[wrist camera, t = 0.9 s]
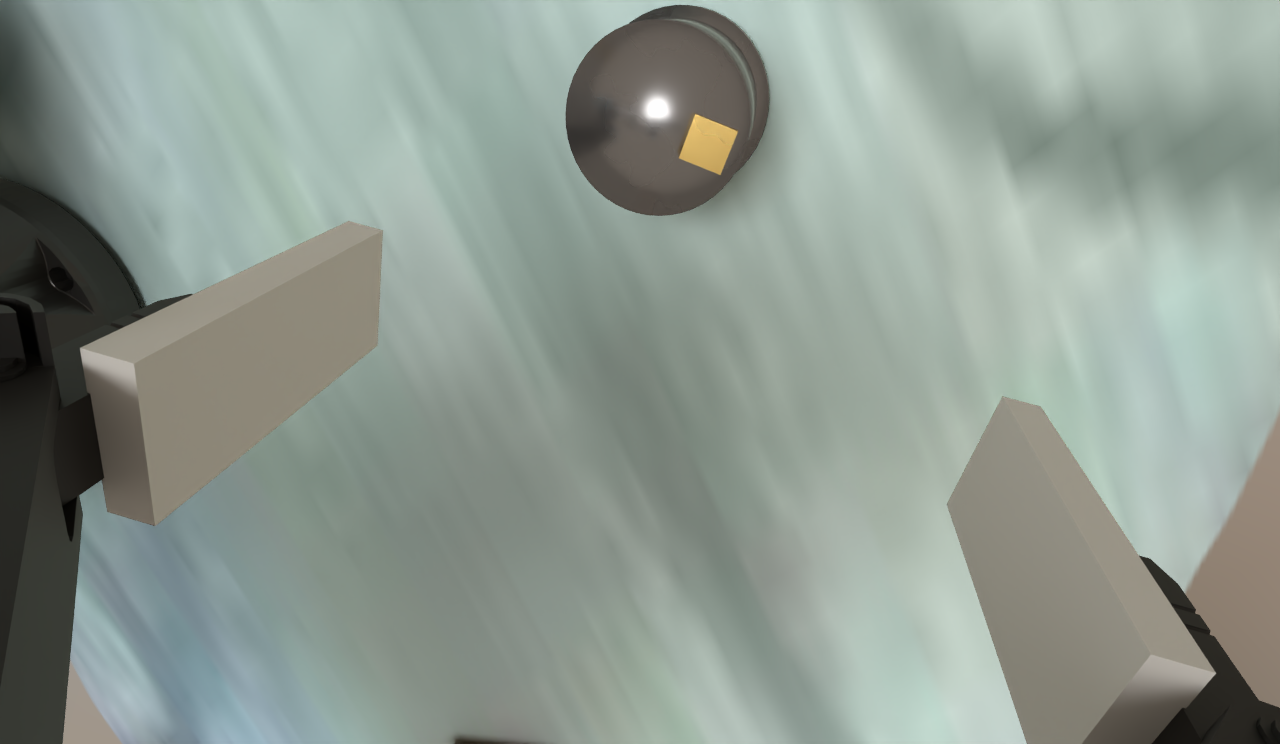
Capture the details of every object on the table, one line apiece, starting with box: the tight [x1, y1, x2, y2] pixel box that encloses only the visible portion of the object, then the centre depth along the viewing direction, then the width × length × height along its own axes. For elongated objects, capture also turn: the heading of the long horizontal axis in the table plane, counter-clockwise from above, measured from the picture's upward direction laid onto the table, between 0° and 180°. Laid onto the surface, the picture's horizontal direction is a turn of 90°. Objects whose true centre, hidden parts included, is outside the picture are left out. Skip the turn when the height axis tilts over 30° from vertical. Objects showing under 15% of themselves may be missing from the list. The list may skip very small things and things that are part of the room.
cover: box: [566, 5, 769, 216], centre depth 29 cm, size 8×8×7 cm
